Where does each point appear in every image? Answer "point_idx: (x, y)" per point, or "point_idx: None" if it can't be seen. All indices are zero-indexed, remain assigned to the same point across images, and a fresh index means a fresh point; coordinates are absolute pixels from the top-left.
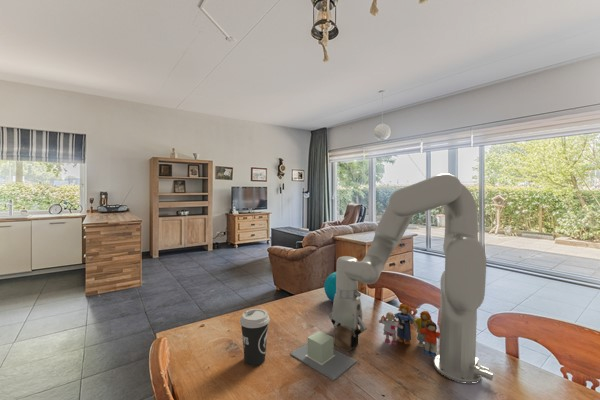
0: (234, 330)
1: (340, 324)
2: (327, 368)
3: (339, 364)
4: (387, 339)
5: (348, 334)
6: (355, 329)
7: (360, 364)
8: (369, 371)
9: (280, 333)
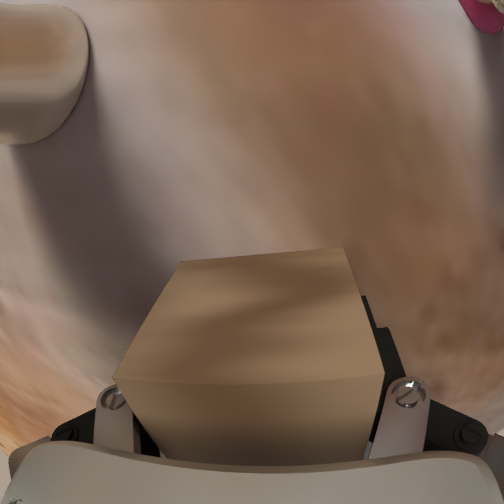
0: (16, 440)
1: (139, 422)
2: None
3: (366, 450)
4: (492, 7)
5: None
6: (378, 437)
7: (447, 386)
8: (491, 383)
9: (36, 414)
